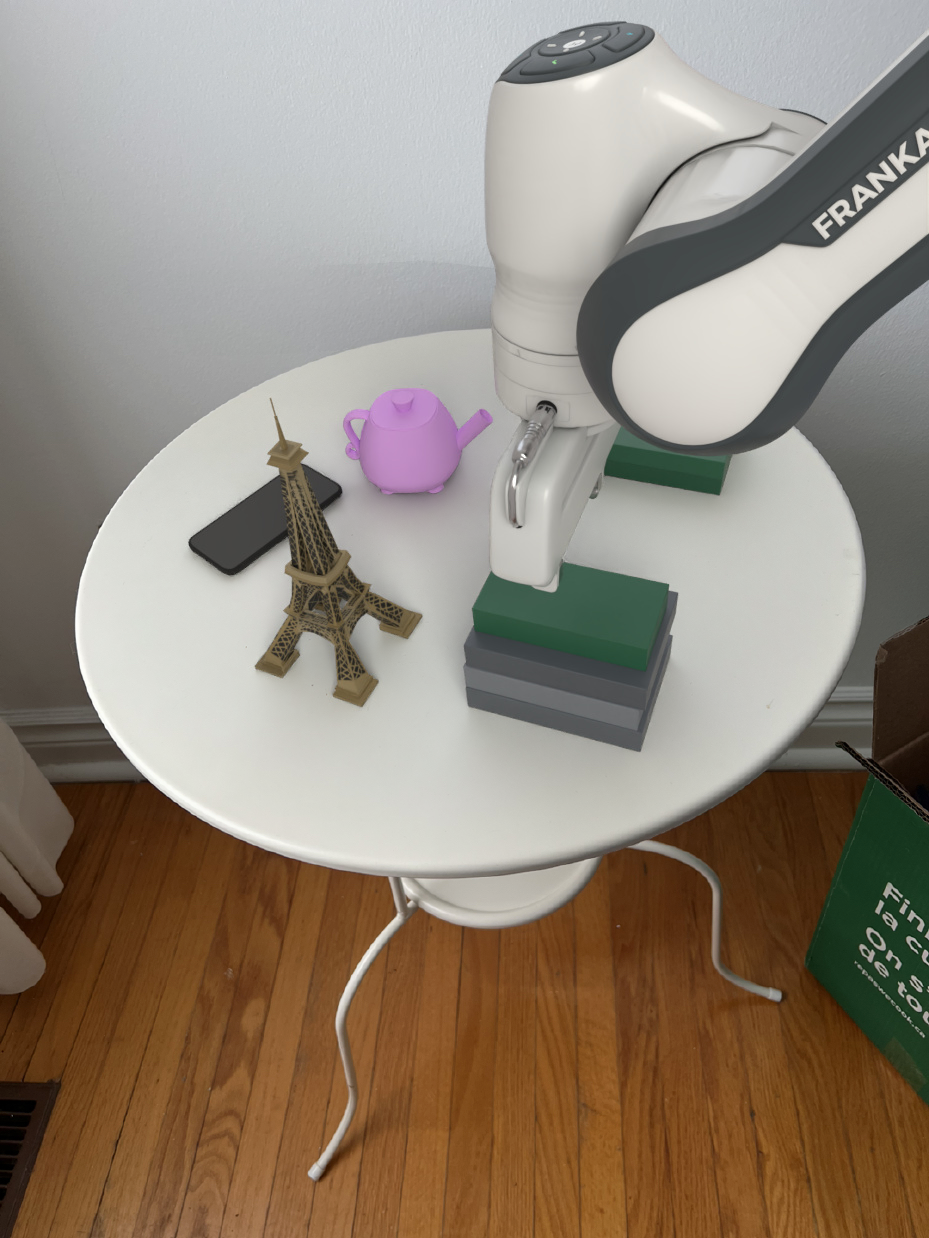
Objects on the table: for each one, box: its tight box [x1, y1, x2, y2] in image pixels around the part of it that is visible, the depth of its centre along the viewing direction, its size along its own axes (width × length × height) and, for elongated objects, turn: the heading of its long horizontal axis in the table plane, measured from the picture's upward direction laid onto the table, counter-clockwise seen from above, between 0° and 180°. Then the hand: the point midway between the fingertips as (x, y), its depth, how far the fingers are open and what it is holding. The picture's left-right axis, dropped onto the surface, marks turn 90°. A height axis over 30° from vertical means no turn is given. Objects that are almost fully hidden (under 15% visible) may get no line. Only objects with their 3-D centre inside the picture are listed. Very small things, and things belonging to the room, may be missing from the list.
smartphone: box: [187, 462, 343, 576], centre depth 90 cm, size 7×1×15 cm
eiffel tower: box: [254, 397, 423, 708], centre depth 70 cm, size 11×11×25 cm
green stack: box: [604, 426, 733, 496], centre depth 91 cm, size 14×9×4 cm, turn 69°
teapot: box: [342, 387, 494, 495], centre depth 90 cm, size 10×15×9 cm
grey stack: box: [462, 590, 679, 753], centre depth 72 cm, size 14×10×8 cm
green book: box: [471, 561, 670, 671], centre depth 68 cm, size 13×6×2 cm, turn 69°
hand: (568, 535), depth 63 cm, fingers open, 8 cm apart
